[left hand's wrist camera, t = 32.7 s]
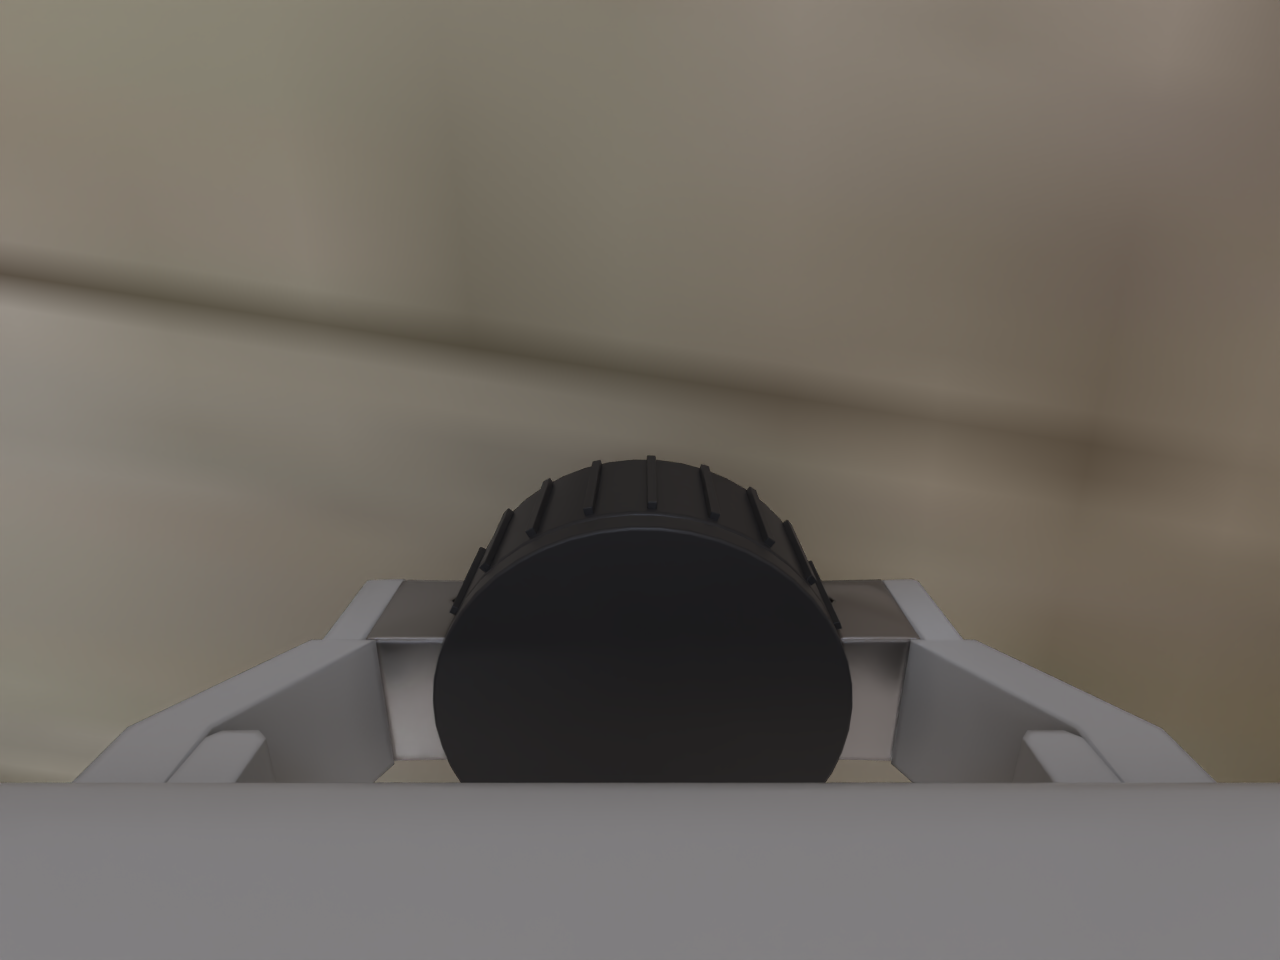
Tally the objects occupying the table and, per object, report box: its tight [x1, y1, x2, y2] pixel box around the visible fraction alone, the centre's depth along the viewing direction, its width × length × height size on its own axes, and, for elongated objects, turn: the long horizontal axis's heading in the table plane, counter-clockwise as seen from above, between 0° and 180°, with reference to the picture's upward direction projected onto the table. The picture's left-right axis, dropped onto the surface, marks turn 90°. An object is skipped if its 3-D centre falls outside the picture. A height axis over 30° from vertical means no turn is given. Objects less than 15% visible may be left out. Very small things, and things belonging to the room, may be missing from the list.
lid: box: [433, 456, 853, 783], centre depth 9 cm, size 5×5×2 cm
